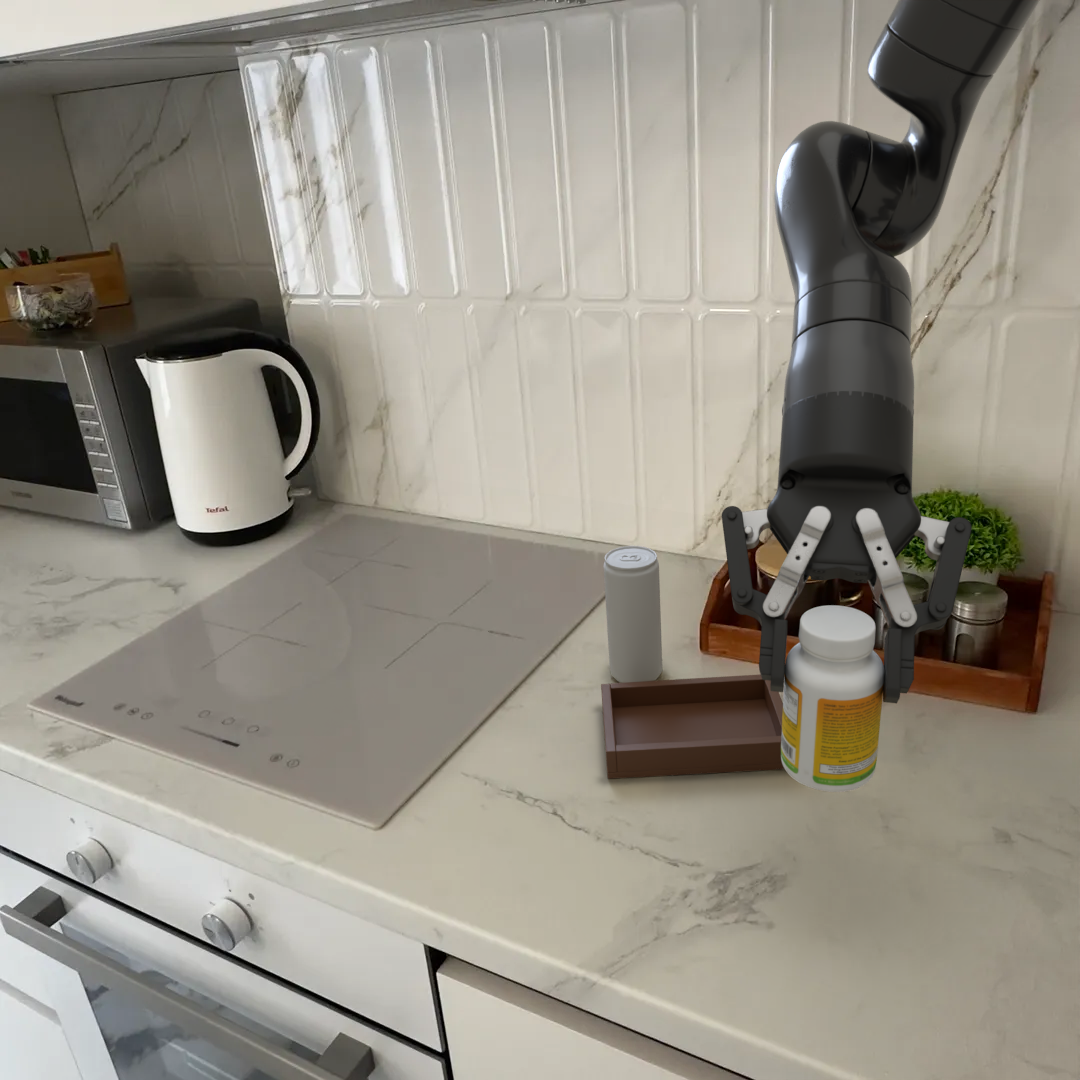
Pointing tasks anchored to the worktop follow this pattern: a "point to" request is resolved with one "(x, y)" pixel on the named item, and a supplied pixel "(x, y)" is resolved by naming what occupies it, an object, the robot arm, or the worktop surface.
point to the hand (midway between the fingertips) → (833, 693)
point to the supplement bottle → (832, 700)
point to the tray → (691, 726)
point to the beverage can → (633, 613)
